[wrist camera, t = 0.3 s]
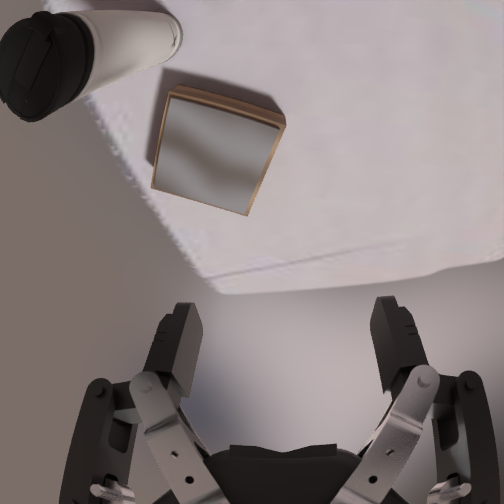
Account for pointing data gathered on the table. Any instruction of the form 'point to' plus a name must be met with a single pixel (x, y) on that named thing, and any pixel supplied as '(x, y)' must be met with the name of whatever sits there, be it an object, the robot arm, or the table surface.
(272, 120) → the square wooden framed mirror
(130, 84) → the table surface
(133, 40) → the travel mug
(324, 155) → the table surface
